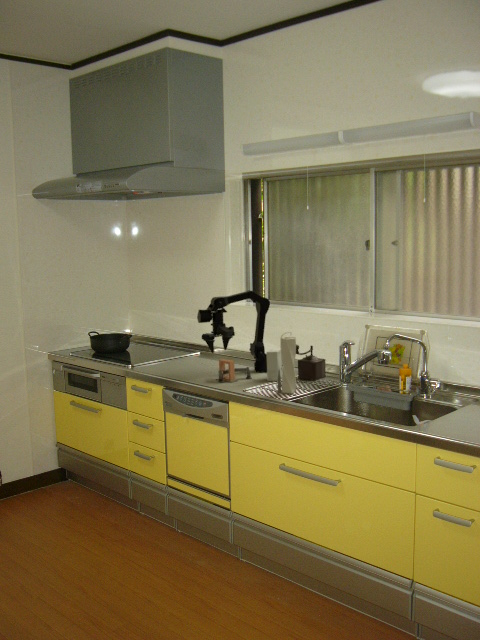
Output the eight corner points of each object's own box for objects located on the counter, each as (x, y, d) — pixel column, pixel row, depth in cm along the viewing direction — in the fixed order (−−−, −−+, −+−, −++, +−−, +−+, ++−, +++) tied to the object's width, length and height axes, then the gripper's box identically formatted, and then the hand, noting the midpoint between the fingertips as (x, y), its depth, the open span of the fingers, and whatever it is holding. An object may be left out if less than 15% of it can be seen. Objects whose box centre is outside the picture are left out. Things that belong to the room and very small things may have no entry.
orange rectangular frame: (223, 378, 340) (223, 359, 339) (234, 380, 335) (234, 361, 333) (219, 379, 338) (218, 360, 337) (230, 381, 333) (229, 362, 331)
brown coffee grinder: (308, 374, 345) (307, 340, 342) (326, 377, 338) (325, 342, 335) (290, 380, 333) (289, 344, 331) (308, 382, 326) (307, 346, 323)
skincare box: (278, 381, 331) (277, 352, 328) (266, 381, 332) (265, 351, 330) (282, 377, 338) (281, 349, 336) (271, 377, 340) (270, 348, 338)
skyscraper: (283, 389, 315) (281, 331, 311) (299, 390, 312) (298, 331, 308) (277, 394, 307) (275, 334, 304) (293, 395, 304) (292, 334, 300)
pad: (223, 377, 342) (223, 377, 342) (238, 381, 334) (238, 380, 334) (216, 379, 339) (216, 379, 339) (231, 382, 331) (231, 382, 331)
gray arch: (251, 377, 341) (251, 366, 340) (251, 381, 332) (251, 370, 331) (218, 378, 341) (218, 367, 340) (217, 382, 332) (217, 371, 331)
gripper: (215, 325, 331) (216, 355, 333) (241, 320, 344) (242, 350, 346) (200, 323, 339) (201, 353, 341) (226, 318, 352) (227, 348, 354)
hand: (218, 351), depth 346 cm, fingers open, 9 cm apart
